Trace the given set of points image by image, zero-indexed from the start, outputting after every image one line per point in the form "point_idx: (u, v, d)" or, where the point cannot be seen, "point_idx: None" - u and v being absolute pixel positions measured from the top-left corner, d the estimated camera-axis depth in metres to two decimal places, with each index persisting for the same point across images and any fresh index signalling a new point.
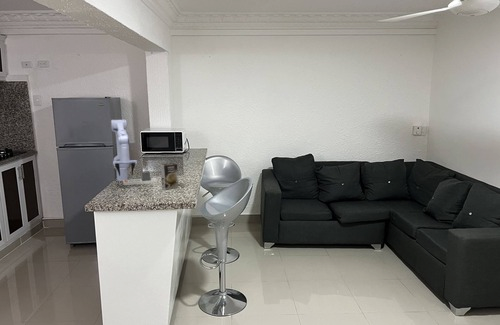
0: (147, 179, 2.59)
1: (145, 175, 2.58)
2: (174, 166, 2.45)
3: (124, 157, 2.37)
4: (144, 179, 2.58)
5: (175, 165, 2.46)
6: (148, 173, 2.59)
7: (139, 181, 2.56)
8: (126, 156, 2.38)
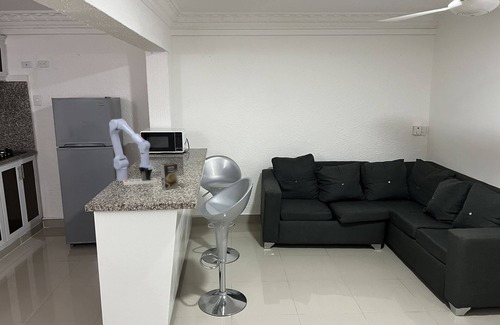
0: (147, 179, 2.59)
1: (145, 175, 2.58)
2: (174, 166, 2.45)
3: (141, 161, 2.57)
4: (144, 179, 2.58)
5: (175, 165, 2.46)
6: None
7: (139, 181, 2.56)
8: (142, 161, 2.56)
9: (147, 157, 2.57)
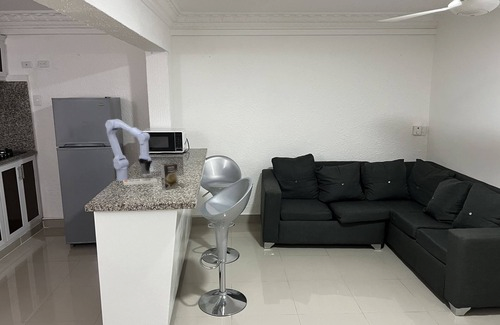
0: None
1: None
2: (174, 166, 2.45)
3: (140, 152, 2.56)
4: (144, 170, 2.57)
5: (175, 165, 2.46)
6: None
7: (139, 181, 2.56)
8: (141, 152, 2.55)
9: (147, 148, 2.55)
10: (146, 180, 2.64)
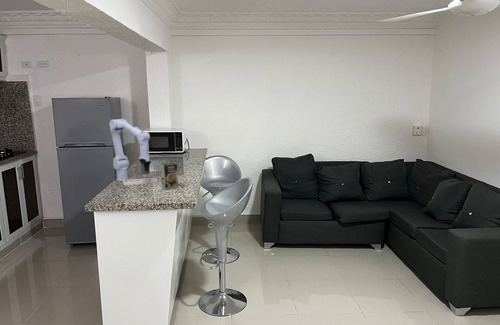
0: (146, 171, 2.52)
1: None
2: (174, 166, 2.45)
3: (140, 152, 2.51)
4: (143, 171, 2.52)
5: (175, 165, 2.46)
6: None
7: (139, 181, 2.56)
8: (141, 152, 2.50)
9: (146, 148, 2.49)
10: (146, 180, 2.64)
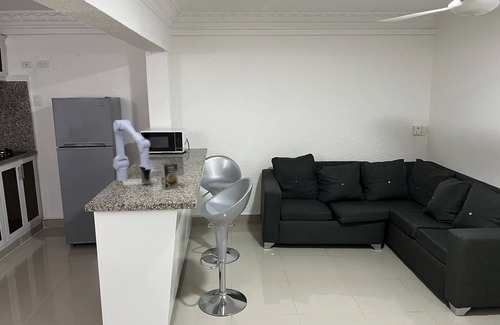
0: None
1: None
2: (174, 166, 2.45)
3: None
4: (143, 179, 2.49)
5: (175, 165, 2.46)
6: None
7: (139, 181, 2.56)
8: (141, 160, 2.48)
9: (146, 156, 2.47)
10: None
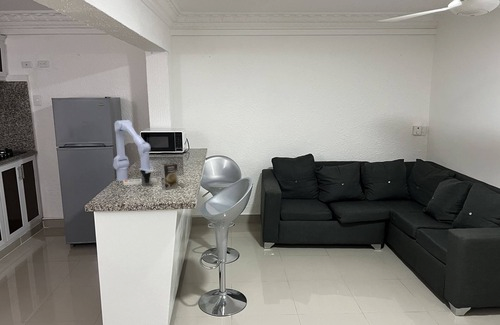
0: (146, 184, 2.50)
1: (144, 180, 2.50)
2: (174, 166, 2.45)
3: None
4: (143, 183, 2.50)
5: (175, 165, 2.46)
6: None
7: (139, 181, 2.56)
8: (141, 163, 2.48)
9: (146, 160, 2.47)
10: None
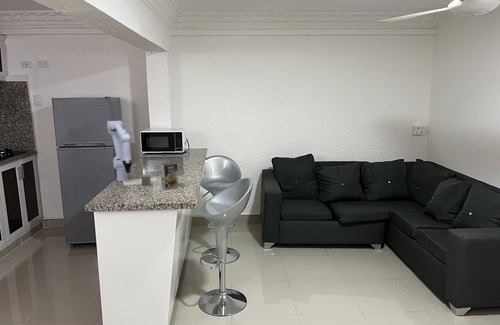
0: (146, 184, 2.50)
1: (144, 180, 2.50)
2: (174, 166, 2.45)
3: (121, 154, 2.51)
4: (143, 183, 2.50)
5: (175, 165, 2.46)
6: (147, 178, 2.50)
7: (139, 181, 2.56)
8: (122, 154, 2.50)
9: (126, 150, 2.49)
10: None
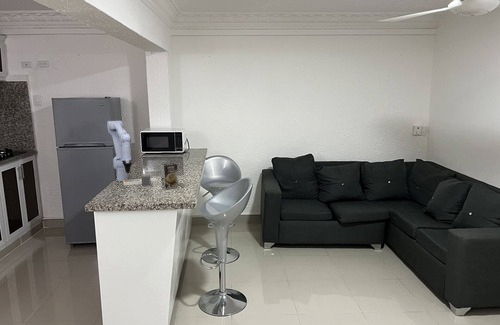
0: (146, 184, 2.50)
1: (144, 180, 2.50)
2: (174, 166, 2.45)
3: (121, 154, 2.51)
4: (143, 183, 2.50)
5: (175, 165, 2.46)
6: (147, 178, 2.50)
7: (139, 181, 2.56)
8: (122, 154, 2.50)
9: (126, 150, 2.49)
10: None
